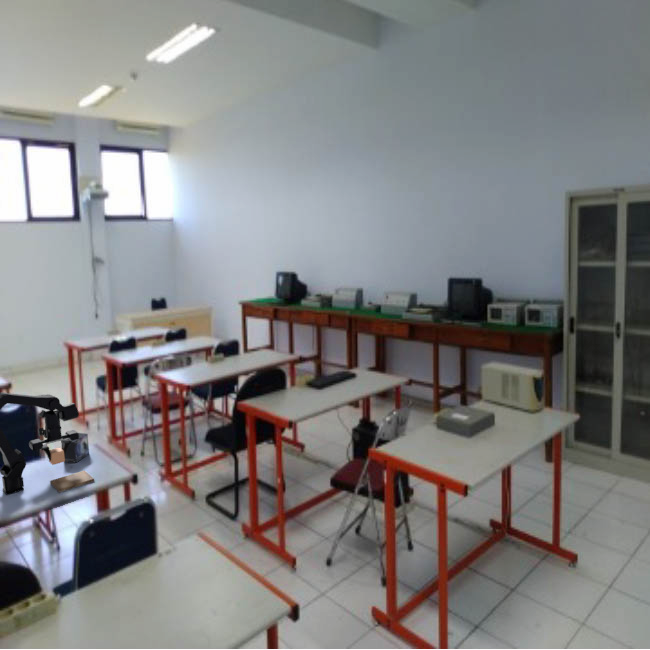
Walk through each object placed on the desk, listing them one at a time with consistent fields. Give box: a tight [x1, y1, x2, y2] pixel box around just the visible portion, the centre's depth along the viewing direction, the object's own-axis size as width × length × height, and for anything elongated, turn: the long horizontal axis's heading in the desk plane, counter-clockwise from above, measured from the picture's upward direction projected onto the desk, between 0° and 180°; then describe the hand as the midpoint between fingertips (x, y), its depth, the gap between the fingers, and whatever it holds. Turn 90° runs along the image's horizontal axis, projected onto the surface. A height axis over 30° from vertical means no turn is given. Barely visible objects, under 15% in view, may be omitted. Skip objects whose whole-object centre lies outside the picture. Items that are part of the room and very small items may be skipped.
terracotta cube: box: [48, 446, 66, 466], centre depth 240 cm, size 5×5×5 cm
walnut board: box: [49, 469, 95, 493], centre depth 234 cm, size 14×11×1 cm
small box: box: [64, 432, 90, 464], centre depth 257 cm, size 11×6×10 cm, turn 168°
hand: (56, 458), depth 240 cm, fingers closed on terracotta cube, 5 cm apart
